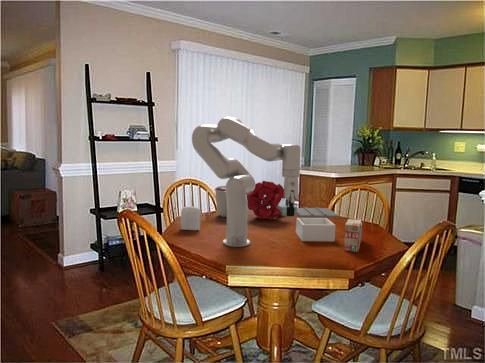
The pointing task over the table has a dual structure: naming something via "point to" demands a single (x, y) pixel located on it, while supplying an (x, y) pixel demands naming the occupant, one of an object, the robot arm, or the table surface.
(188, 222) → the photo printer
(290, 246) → the table surface
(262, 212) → the bouquet
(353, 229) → the printed milk carton
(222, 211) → the canister
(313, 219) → the tub
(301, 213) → the lid
